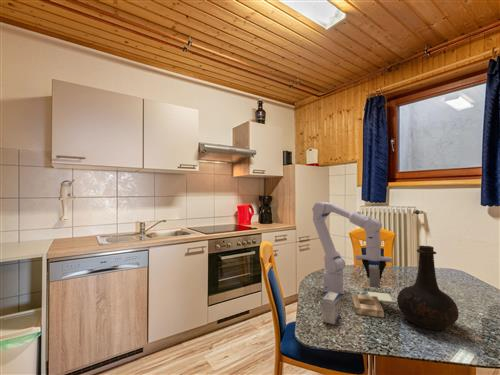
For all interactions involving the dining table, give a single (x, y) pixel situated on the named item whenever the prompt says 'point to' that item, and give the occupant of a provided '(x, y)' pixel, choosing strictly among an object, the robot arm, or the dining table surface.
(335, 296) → the medicine box
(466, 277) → the dining table surface
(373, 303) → the rail plate
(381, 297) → the pad
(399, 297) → the glass bottle
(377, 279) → the square peg
